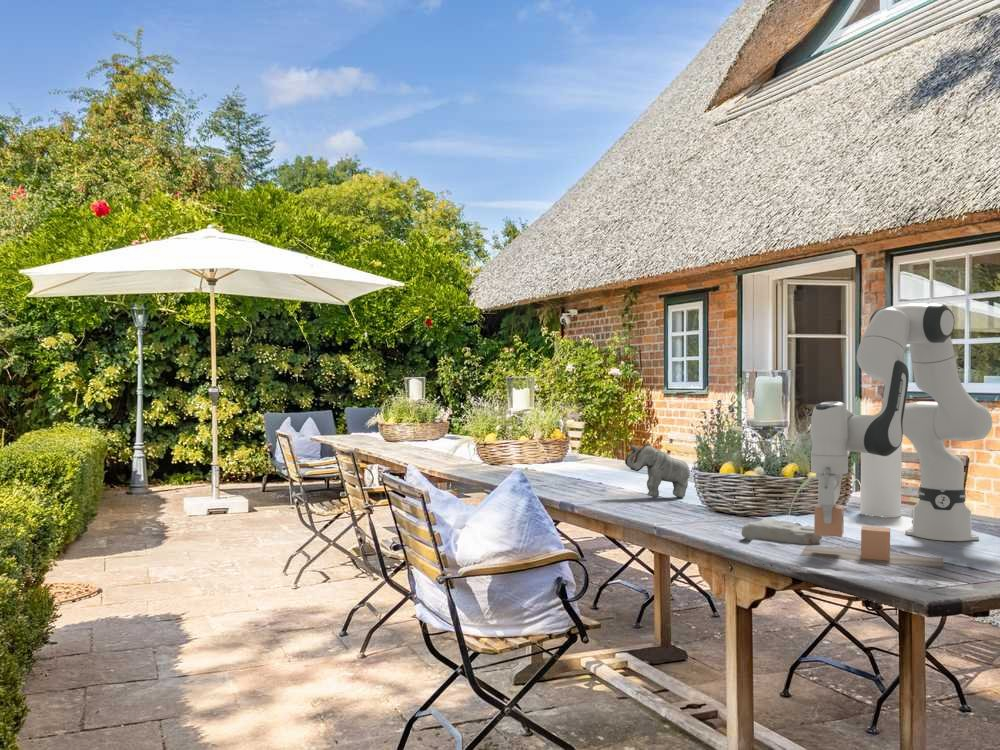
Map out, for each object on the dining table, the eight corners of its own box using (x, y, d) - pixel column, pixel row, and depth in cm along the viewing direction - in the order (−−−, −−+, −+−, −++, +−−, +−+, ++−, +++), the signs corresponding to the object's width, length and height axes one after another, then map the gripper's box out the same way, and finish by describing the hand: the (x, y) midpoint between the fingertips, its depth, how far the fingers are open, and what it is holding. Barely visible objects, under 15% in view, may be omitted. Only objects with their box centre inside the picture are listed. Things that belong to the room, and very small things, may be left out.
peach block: (816, 530, 221) (816, 503, 221) (843, 532, 218) (843, 505, 218) (814, 534, 215) (814, 507, 215) (841, 537, 212) (841, 508, 212)
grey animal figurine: (683, 495, 329) (684, 443, 329) (692, 499, 320) (693, 445, 320) (621, 496, 324) (621, 443, 324) (628, 500, 315) (629, 445, 315)
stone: (739, 541, 239) (739, 522, 239) (761, 533, 251) (761, 515, 251) (815, 552, 225) (816, 532, 225) (835, 544, 237) (835, 525, 237)
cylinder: (909, 516, 283) (910, 441, 284) (876, 518, 280) (877, 441, 281) (883, 511, 296) (884, 438, 296) (852, 512, 293) (853, 439, 293)
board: (805, 550, 225) (805, 546, 225) (942, 563, 211) (942, 558, 211) (800, 559, 213) (800, 555, 213) (944, 573, 199) (944, 568, 199)
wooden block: (862, 553, 216) (862, 525, 216) (890, 555, 213) (890, 527, 213) (860, 558, 210) (861, 529, 210) (889, 560, 207) (889, 531, 207)
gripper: (839, 470, 206) (839, 528, 206) (845, 462, 224) (845, 515, 224) (811, 469, 209) (811, 526, 209) (819, 461, 227) (819, 513, 227)
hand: (829, 520), depth 217 cm, fingers closed on peach block, 6 cm apart
